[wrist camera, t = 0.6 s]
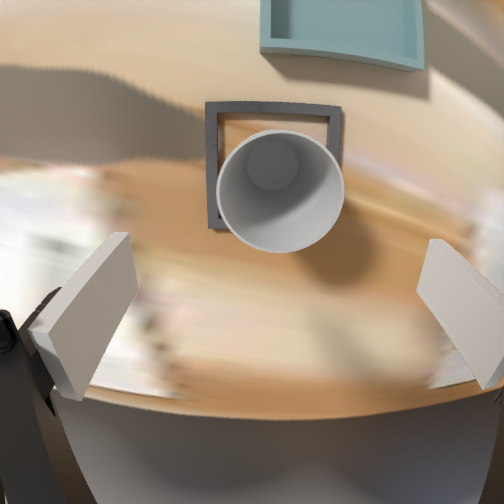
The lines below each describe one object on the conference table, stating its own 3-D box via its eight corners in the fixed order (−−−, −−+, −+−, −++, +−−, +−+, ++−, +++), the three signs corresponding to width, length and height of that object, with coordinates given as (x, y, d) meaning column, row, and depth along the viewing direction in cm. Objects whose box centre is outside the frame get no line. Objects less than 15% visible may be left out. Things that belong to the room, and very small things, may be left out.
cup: (329, 183, 29) (362, 218, 20) (255, 221, 31) (256, 272, 22) (289, 107, 26) (309, 107, 17) (211, 150, 28) (191, 171, 19)
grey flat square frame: (206, 102, 26) (205, 102, 25) (338, 106, 26) (341, 106, 25) (209, 225, 31) (208, 228, 30) (329, 227, 31) (331, 230, 30)
